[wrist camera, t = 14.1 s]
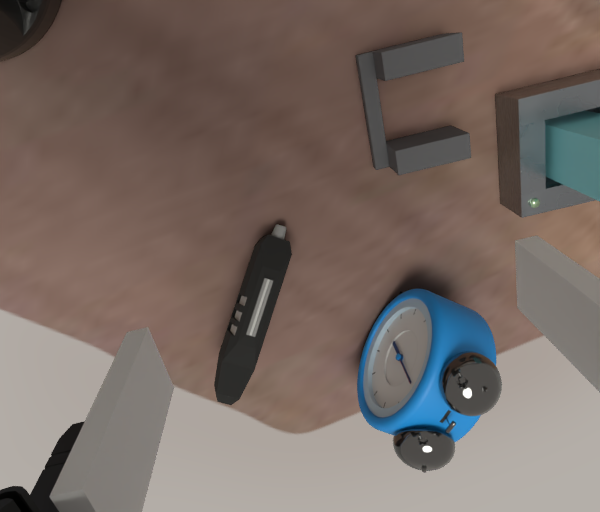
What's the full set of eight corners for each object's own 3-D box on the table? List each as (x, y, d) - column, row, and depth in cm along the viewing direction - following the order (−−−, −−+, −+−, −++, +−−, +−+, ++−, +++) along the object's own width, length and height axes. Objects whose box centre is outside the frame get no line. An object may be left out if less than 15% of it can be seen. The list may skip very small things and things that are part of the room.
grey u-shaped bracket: (355, 55, 38) (365, 56, 34) (442, 33, 38) (462, 32, 34) (373, 167, 42) (384, 178, 38) (452, 147, 42) (471, 157, 38)
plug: (531, 120, 41) (616, 144, 31) (581, 109, 41) (682, 130, 31) (530, 169, 43) (611, 206, 33) (578, 159, 42) (674, 193, 33)
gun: (279, 237, 50) (302, 229, 40) (230, 385, 48) (243, 414, 39) (254, 228, 49) (271, 217, 40) (204, 378, 48) (209, 405, 38)
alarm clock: (409, 263, 46) (470, 354, 32) (460, 285, 48) (539, 382, 34) (345, 363, 51) (376, 481, 37) (394, 381, 52) (441, 501, 38)
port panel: (495, 94, 40) (519, 99, 36) (611, 66, 40) (648, 68, 36) (500, 203, 44) (522, 218, 40) (605, 178, 44) (638, 191, 40)
